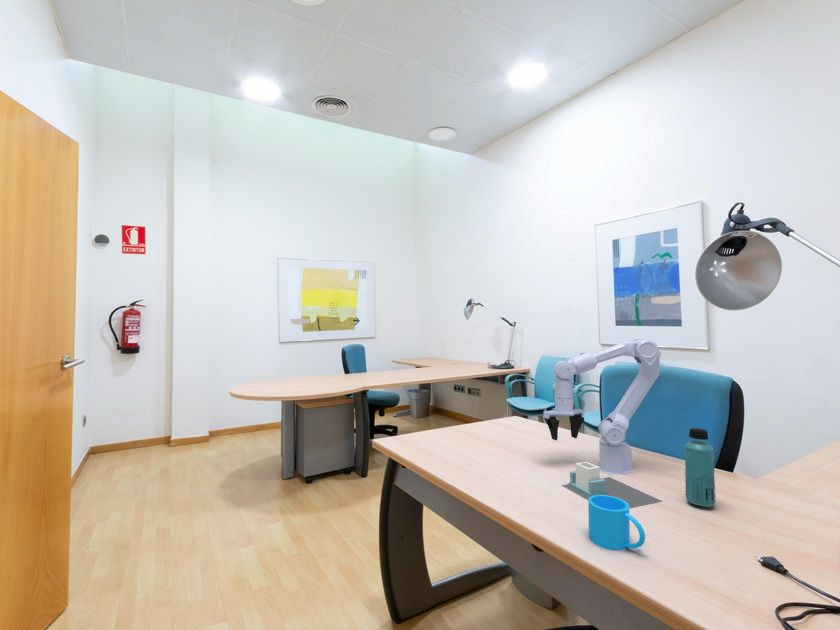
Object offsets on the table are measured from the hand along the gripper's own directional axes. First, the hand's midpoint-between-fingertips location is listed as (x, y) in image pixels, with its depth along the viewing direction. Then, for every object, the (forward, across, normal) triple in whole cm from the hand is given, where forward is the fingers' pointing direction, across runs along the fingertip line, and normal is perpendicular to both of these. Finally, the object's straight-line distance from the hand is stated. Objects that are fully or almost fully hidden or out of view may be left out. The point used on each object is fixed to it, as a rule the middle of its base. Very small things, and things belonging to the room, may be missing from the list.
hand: (564, 438), depth 134 cm
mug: (+10, -18, -43) cm, 48 cm away
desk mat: (+9, -2, -22) cm, 24 cm away
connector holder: (+9, -6, -18) cm, 21 cm away
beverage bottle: (+10, +15, -35) cm, 39 cm away
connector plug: (+8, -6, -18) cm, 21 cm away
